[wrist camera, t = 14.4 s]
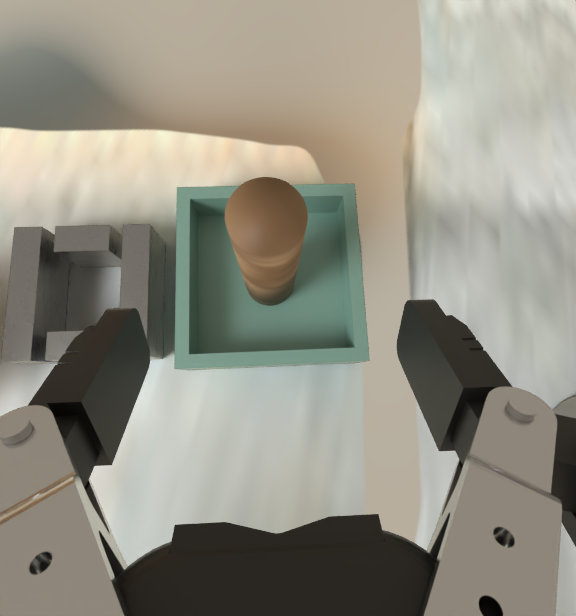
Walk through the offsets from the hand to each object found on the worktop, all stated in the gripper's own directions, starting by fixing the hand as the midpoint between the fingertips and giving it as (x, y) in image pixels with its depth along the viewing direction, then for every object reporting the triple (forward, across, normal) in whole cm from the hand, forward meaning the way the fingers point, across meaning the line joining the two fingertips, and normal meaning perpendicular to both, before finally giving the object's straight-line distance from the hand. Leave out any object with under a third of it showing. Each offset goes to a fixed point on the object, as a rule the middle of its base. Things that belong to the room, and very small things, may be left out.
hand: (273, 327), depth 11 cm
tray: (+18, 0, +9) cm, 20 cm away
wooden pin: (+17, 0, +9) cm, 19 cm away
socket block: (+17, +14, +10) cm, 24 cm away
